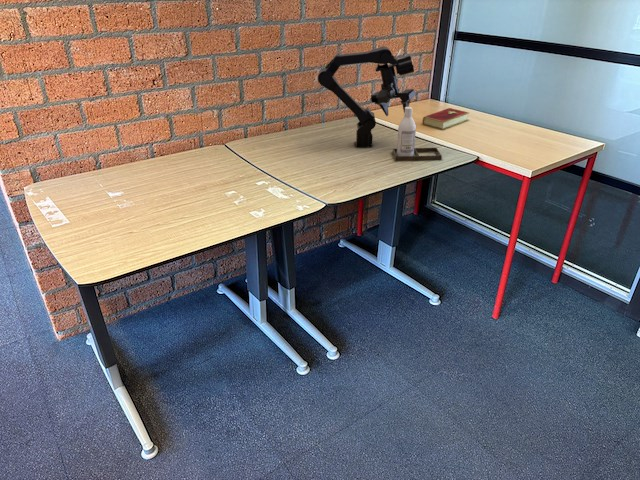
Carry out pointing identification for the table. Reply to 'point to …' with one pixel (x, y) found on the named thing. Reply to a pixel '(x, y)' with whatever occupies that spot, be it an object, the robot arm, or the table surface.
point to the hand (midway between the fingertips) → (396, 115)
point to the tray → (416, 155)
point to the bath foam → (406, 134)
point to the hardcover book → (445, 118)
